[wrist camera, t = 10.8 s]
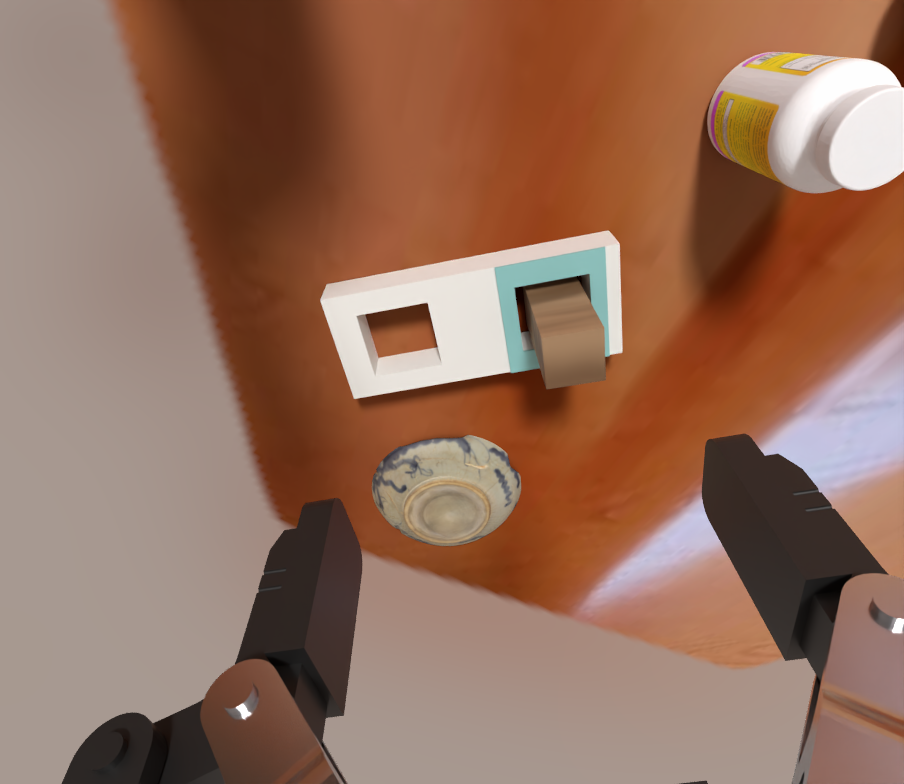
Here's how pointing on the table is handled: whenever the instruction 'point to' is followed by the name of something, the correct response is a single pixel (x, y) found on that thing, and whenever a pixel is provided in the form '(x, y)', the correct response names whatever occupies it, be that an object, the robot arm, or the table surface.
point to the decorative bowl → (446, 489)
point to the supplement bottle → (811, 121)
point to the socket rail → (468, 312)
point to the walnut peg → (565, 333)
